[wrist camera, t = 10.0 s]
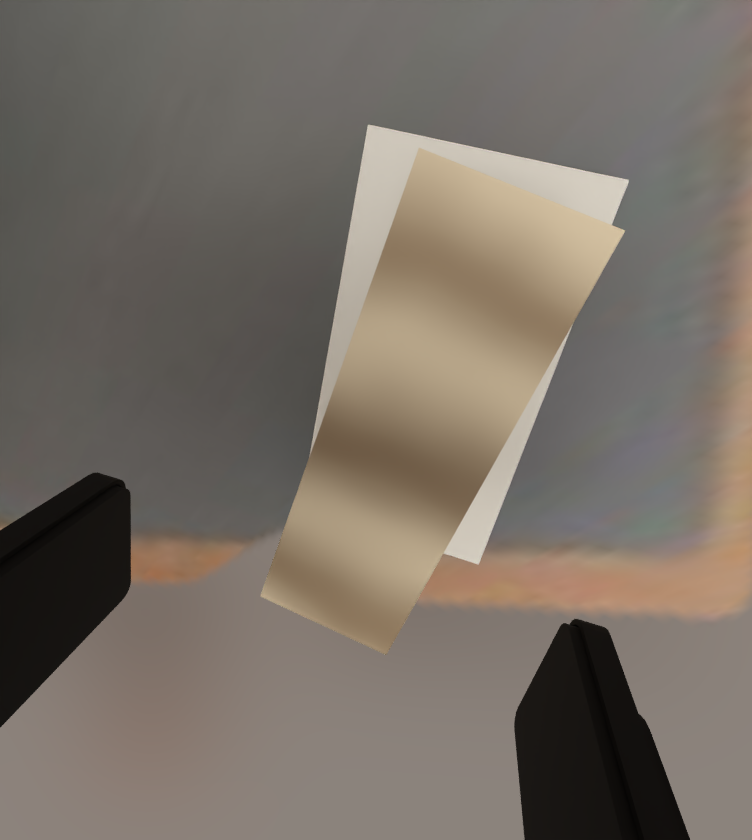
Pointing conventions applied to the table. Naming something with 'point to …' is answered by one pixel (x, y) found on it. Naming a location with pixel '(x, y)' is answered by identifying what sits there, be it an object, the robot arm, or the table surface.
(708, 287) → the table surface
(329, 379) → the peg stand
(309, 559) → the shelf board
